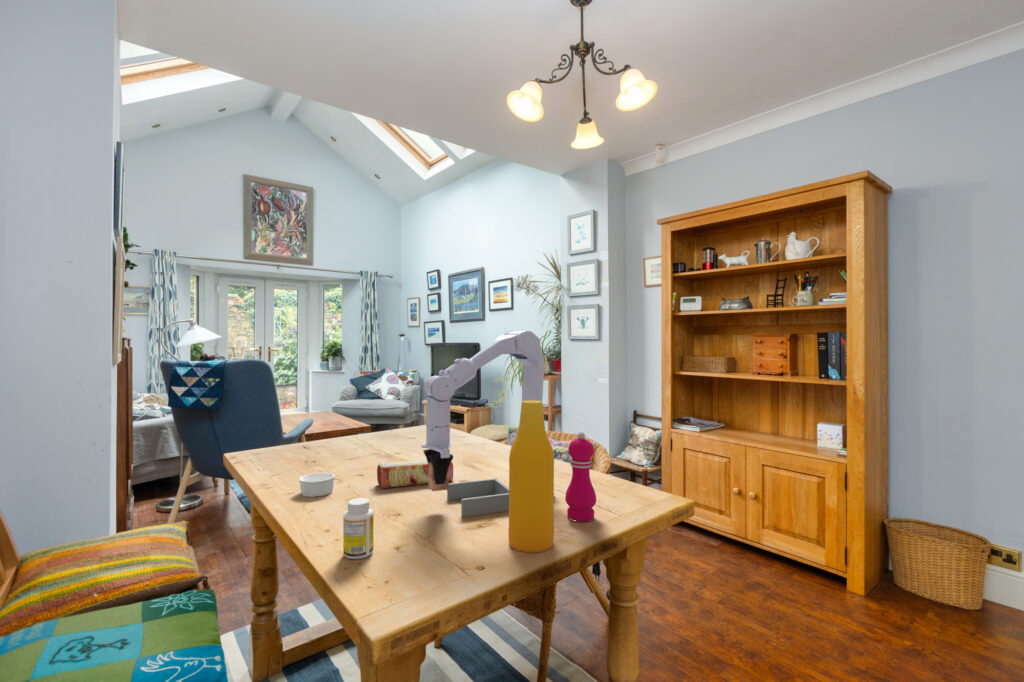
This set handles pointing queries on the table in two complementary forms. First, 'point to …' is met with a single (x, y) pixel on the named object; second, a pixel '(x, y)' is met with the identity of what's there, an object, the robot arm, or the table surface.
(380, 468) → the snack package
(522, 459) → the beer bottle
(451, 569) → the table surface
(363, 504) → the supplement bottle
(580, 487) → the pepper mill
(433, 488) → the block
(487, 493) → the open side box
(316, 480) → the ramekin
